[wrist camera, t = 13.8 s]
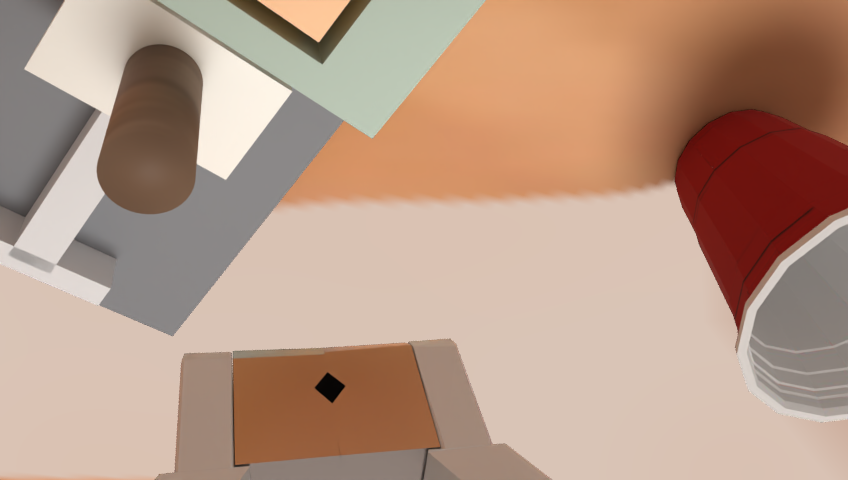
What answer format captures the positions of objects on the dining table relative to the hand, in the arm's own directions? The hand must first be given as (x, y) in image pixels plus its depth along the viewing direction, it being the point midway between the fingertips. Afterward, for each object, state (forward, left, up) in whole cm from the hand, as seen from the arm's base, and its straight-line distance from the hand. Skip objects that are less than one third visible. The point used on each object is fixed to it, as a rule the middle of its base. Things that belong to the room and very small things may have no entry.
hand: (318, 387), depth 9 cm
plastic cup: (+24, +4, -24) cm, 34 cm away
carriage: (0, -5, -22) cm, 22 cm away
